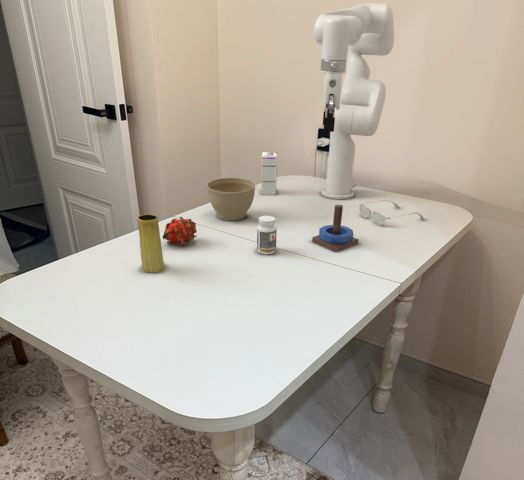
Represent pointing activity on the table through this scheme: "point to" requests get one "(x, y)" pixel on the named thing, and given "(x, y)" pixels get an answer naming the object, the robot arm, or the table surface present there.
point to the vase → (150, 243)
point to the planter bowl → (231, 197)
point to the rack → (335, 233)
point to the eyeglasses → (378, 216)
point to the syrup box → (269, 173)
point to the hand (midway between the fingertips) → (328, 128)
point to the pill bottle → (266, 235)
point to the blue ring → (328, 237)
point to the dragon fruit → (179, 231)
